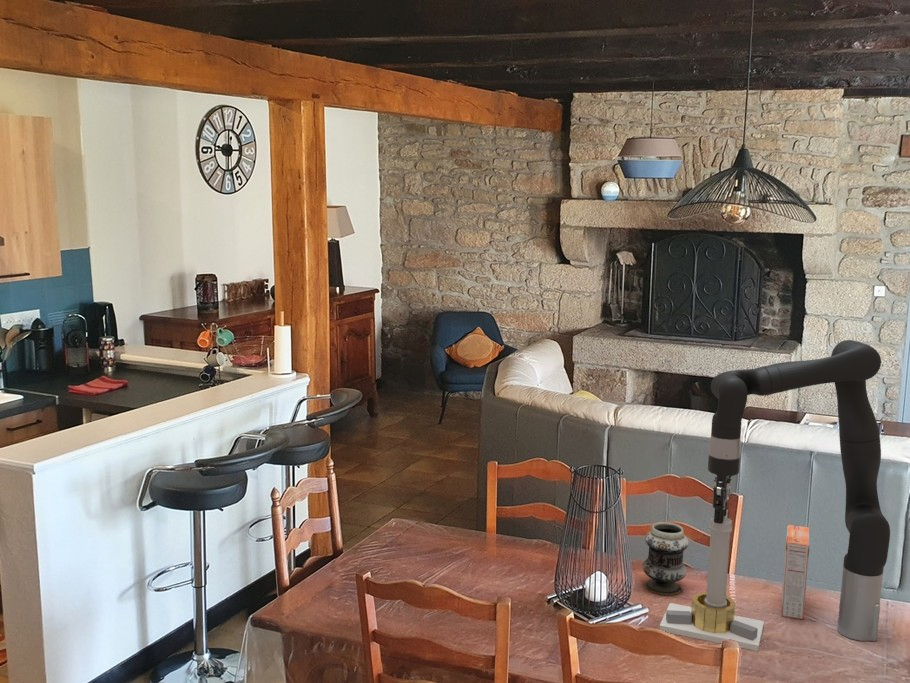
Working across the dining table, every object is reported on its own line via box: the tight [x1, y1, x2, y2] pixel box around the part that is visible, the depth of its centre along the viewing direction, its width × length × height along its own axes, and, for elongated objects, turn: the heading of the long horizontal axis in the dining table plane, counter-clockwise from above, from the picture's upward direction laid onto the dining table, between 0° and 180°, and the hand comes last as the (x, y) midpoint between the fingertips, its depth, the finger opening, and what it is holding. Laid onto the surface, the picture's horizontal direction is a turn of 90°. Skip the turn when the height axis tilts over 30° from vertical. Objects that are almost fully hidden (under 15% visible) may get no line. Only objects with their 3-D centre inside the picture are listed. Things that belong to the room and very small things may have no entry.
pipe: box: [704, 496, 733, 609], centre depth 231 cm, size 6×6×30 cm
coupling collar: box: [691, 591, 736, 633], centre depth 234 cm, size 10×10×6 cm
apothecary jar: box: [642, 521, 689, 596], centre depth 257 cm, size 12×12×18 cm
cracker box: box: [781, 524, 810, 620], centre depth 246 cm, size 14×6×21 cm, turn 159°
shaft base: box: [659, 602, 765, 652], centre depth 235 cm, size 24×14×4 cm, turn 66°
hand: (720, 518), depth 230 cm, fingers closed on pipe, 5 cm apart
